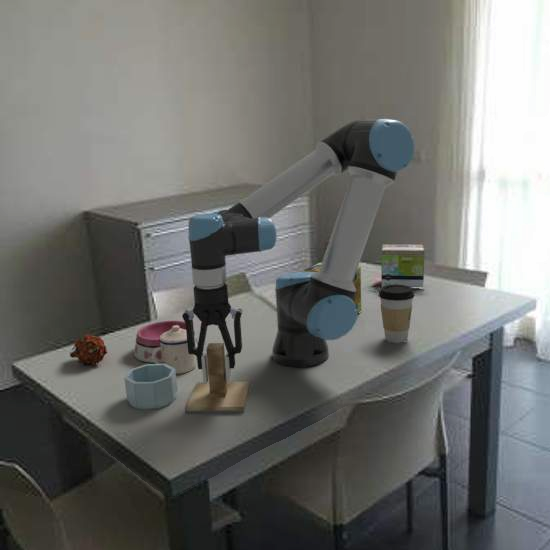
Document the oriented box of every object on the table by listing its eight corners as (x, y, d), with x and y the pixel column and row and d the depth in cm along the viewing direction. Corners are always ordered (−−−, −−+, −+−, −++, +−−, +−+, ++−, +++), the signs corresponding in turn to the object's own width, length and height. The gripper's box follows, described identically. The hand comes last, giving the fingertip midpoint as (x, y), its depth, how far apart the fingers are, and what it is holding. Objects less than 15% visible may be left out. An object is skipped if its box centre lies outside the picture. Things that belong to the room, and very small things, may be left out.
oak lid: (249, 384, 150) (246, 335, 146) (243, 409, 137) (240, 356, 134) (196, 385, 151) (192, 336, 147) (186, 410, 138) (181, 357, 135)
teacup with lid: (185, 358, 169) (181, 318, 166) (203, 367, 163) (199, 326, 160) (146, 371, 162) (141, 329, 159) (163, 381, 155) (158, 338, 152)
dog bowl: (160, 370, 163) (158, 346, 161) (120, 354, 175) (117, 331, 173) (212, 349, 176) (211, 326, 174) (172, 335, 188) (170, 314, 186)
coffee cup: (420, 337, 176) (421, 287, 172) (402, 348, 169) (402, 295, 165) (391, 330, 182) (391, 282, 178) (371, 340, 175) (371, 290, 171)
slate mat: (249, 386, 150) (249, 384, 150) (243, 412, 137) (243, 409, 137) (196, 387, 151) (196, 385, 151) (186, 413, 138) (185, 410, 138)
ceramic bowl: (180, 388, 151) (178, 363, 149) (170, 409, 140) (167, 383, 139) (136, 388, 152) (133, 364, 150) (123, 409, 141) (120, 383, 140)
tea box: (381, 289, 223) (381, 249, 220) (381, 282, 233) (381, 243, 229) (424, 289, 221) (424, 249, 217) (422, 282, 230) (422, 243, 227)
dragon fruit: (101, 374, 165) (80, 369, 174) (120, 349, 169) (98, 345, 178) (79, 356, 161) (58, 351, 169) (99, 330, 165) (78, 327, 173)
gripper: (251, 278, 140) (257, 373, 146) (174, 281, 141) (183, 375, 147) (248, 287, 133) (254, 387, 139) (166, 290, 134) (176, 388, 140)
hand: (217, 380), depth 143 cm, fingers open, 5 cm apart
